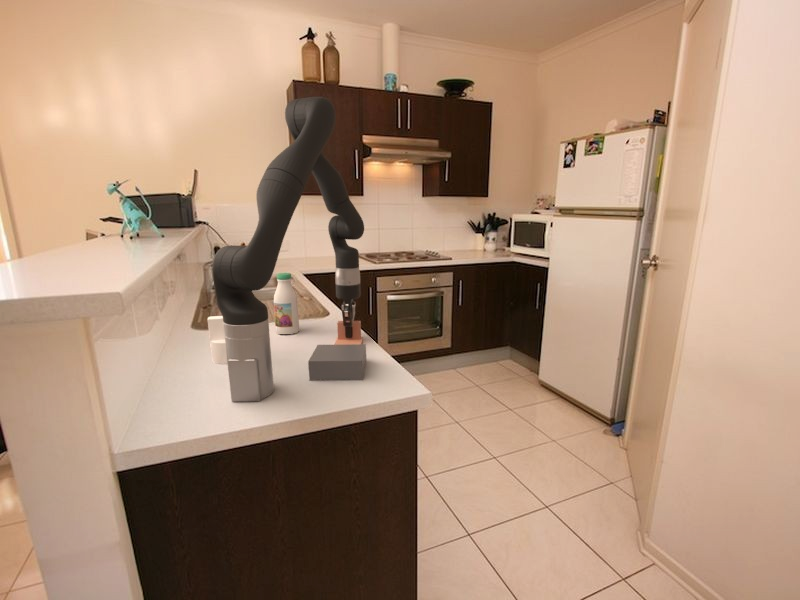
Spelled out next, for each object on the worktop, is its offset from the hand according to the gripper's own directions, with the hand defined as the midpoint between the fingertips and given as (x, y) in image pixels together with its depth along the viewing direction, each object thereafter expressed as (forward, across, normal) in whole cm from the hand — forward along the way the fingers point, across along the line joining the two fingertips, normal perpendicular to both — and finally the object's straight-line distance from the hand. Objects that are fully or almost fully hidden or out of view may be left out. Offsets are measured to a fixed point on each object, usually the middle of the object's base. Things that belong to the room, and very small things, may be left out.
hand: (349, 335), depth 128 cm
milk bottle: (+2, +10, +22) cm, 24 cm away
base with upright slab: (+2, -14, +32) cm, 35 cm away
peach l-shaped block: (+1, -9, 0) cm, 9 cm away
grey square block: (+2, -24, 0) cm, 24 cm away
